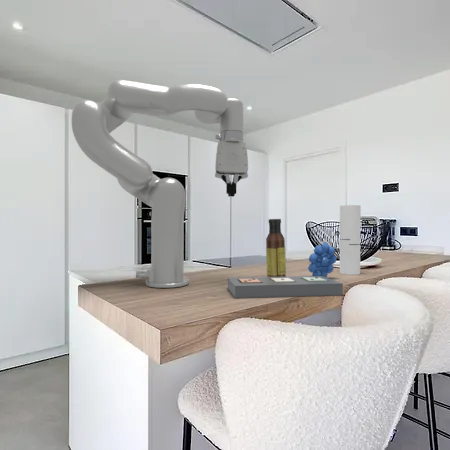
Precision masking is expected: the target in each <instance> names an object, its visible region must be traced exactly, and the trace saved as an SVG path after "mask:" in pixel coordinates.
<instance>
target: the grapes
mask: <svg viewBox="0 0 450 450" xmlns="http://www.w3.org/2000/svg"><path fill="white" fill-rule="evenodd" d="M335 251H336V249H335V248H334V247H333V246H330V245H329V243H327V242H324V243H322V244H321V245H316V246H315V247H314V249H313V253H311V254H310V255H309V257H308V260H309V261H308V262H310V263H309V265H308V267H307V268H308V272H309V273H311V276H324V277H327V278H328V276H329V275H328V274H331V273H333V272H334V270H335V269H334V264H335V263H336V262H337V257H336V255H335Z"/></svg>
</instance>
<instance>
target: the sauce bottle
mask: <svg viewBox="0 0 450 450" xmlns="http://www.w3.org/2000/svg"><path fill="white" fill-rule="evenodd" d="M281 224H282V219H281V218H268V225H269V226H268V228H269V230H268V235H267V237H266V238H265V244H266V247H265V251H266V252H265V253H266V277H287V276H286V274H287V266H286V265H287V261H286V260H287V259H286V258H287V257H286V244H285V237H284V235H283V233H282V230H281V228H282V227H281Z"/></svg>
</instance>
